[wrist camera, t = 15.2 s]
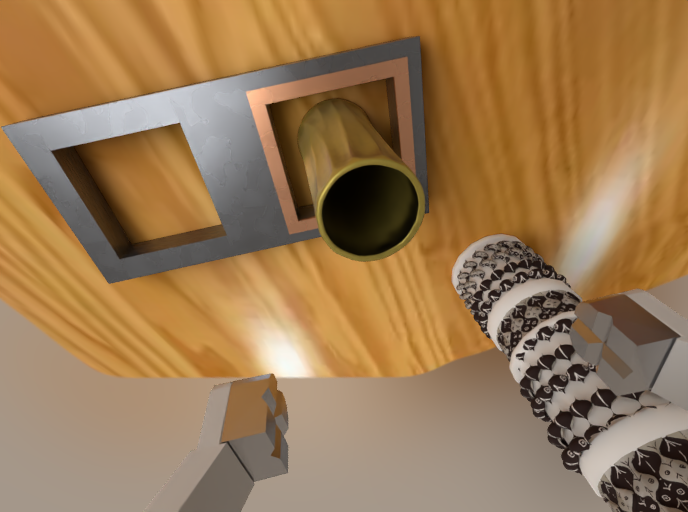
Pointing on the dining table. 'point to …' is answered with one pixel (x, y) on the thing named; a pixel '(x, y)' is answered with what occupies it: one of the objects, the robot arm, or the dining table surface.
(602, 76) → the dining table surface
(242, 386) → the robot arm
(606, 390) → the decorative candle
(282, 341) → the dining table surface
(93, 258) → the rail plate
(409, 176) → the vase
